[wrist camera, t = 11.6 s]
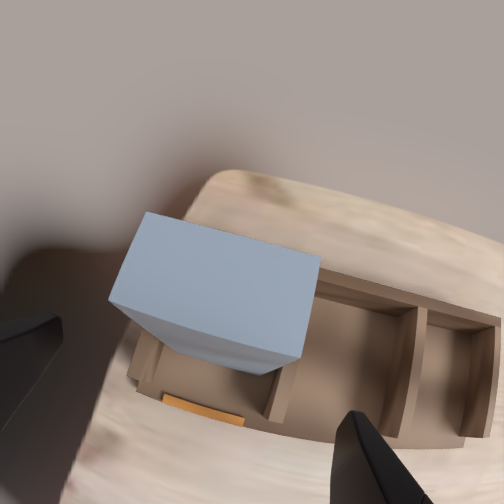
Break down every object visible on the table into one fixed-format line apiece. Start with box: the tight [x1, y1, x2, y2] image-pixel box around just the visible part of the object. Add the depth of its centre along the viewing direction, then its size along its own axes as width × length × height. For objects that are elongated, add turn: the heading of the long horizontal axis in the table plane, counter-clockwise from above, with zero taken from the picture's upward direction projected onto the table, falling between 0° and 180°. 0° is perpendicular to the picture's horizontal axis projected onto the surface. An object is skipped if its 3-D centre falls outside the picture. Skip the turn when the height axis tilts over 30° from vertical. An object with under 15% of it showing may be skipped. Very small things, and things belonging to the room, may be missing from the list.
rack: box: [127, 268, 501, 449], centre depth 18 cm, size 11×25×5 cm, turn 75°
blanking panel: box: [108, 212, 321, 376], centre depth 14 cm, size 3×6×12 cm, turn 75°
